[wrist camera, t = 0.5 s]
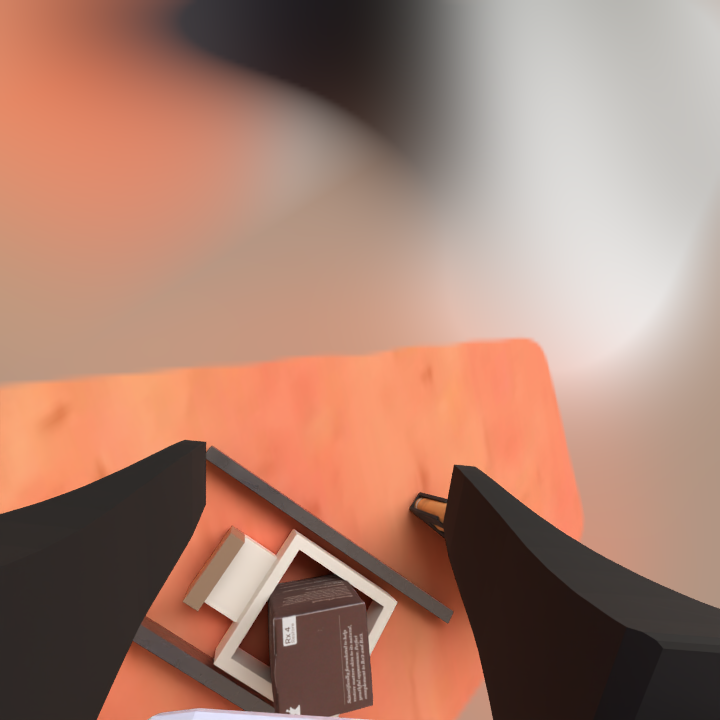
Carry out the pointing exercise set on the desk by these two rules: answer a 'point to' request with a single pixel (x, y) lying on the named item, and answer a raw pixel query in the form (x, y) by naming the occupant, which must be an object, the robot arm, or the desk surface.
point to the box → (318, 647)
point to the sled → (266, 596)
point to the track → (201, 663)
